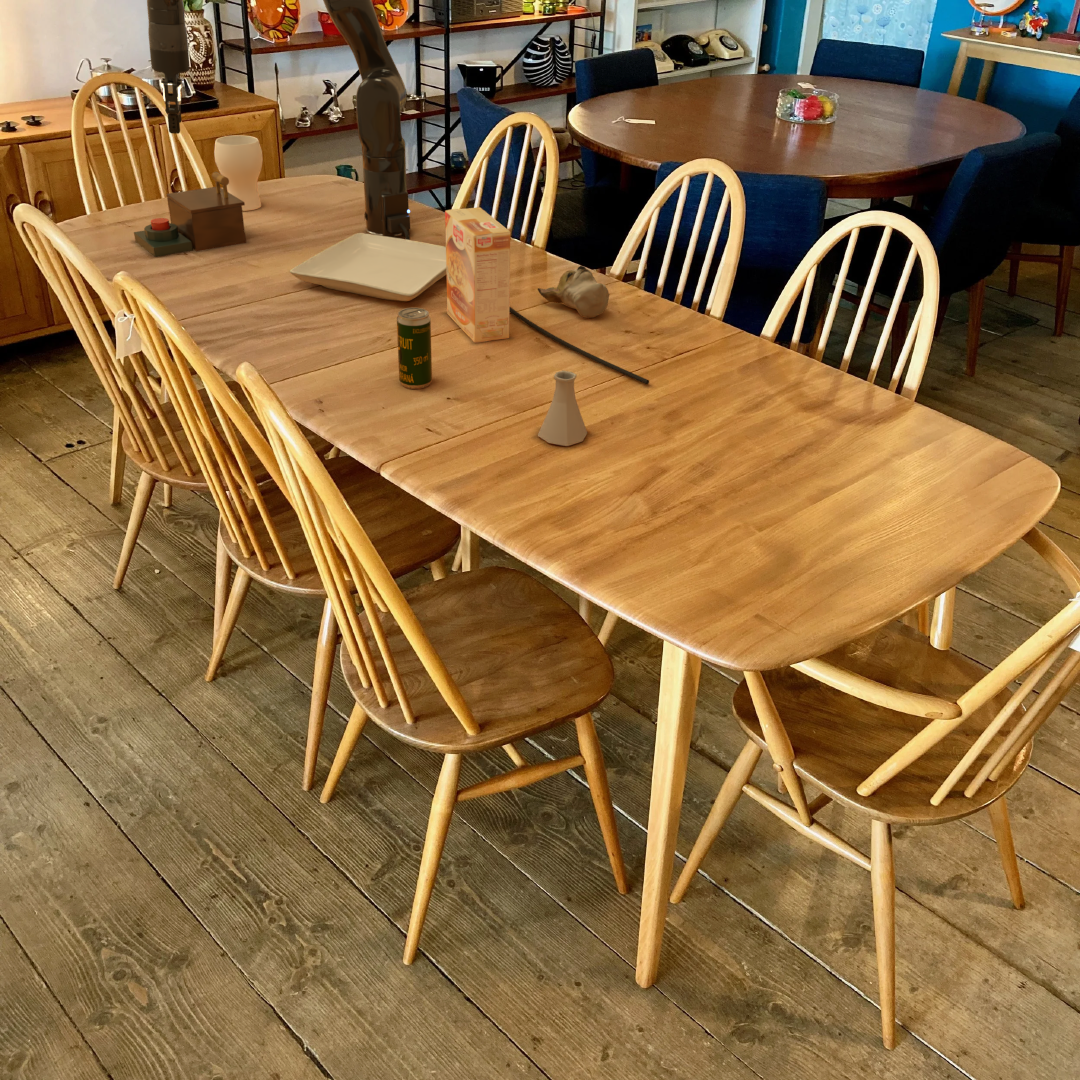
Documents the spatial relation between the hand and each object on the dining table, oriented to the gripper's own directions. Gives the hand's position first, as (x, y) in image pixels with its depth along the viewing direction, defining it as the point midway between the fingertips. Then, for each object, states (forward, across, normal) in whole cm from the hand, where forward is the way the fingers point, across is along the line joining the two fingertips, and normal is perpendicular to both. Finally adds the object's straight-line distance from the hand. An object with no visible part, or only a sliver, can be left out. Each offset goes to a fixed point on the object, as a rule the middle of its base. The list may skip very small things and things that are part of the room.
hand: (175, 127), depth 234 cm
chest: (+20, -10, -6) cm, 23 cm away
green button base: (+21, -14, +4) cm, 25 cm away
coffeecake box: (+15, -67, -54) cm, 88 cm away
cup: (+21, +13, -13) cm, 28 cm away
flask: (+14, -112, -59) cm, 127 cm away
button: (+17, -13, +4) cm, 22 cm away
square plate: (+17, -40, -40) cm, 59 cm away
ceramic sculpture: (+14, -62, -74) cm, 98 cm away
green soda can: (+16, -90, -40) cm, 99 cm away
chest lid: (+13, -9, -5) cm, 17 cm away
